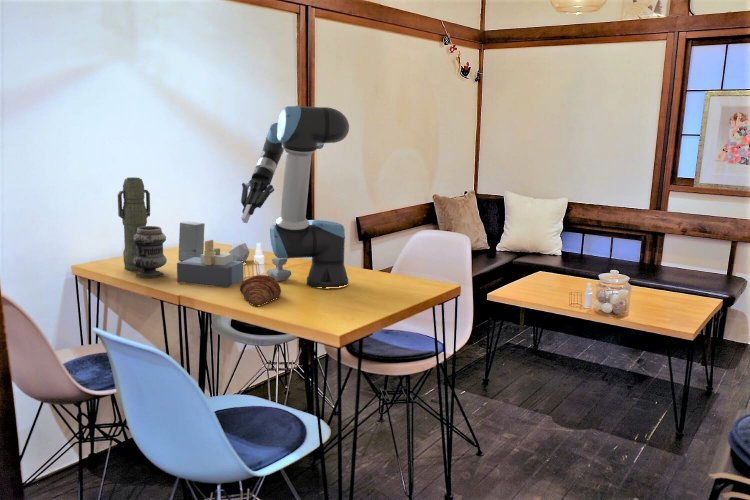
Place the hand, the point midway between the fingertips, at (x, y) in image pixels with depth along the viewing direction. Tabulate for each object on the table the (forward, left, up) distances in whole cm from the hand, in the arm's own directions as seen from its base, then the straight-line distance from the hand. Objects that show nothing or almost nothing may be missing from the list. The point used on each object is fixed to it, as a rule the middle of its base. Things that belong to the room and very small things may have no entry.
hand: (244, 220), depth 243 cm
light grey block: (+2, +10, -15) cm, 18 cm away
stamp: (-10, -9, -22) cm, 26 cm away
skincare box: (+40, -1, -22) cm, 46 cm away
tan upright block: (0, +14, -14) cm, 20 cm away
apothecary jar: (+24, +25, -22) cm, 41 cm away
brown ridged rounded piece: (-27, +11, -22) cm, 37 cm away
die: (+26, -15, -22) cm, 38 cm away
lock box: (+3, +12, -22) cm, 25 cm away
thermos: (+38, +24, -22) cm, 50 cm away
